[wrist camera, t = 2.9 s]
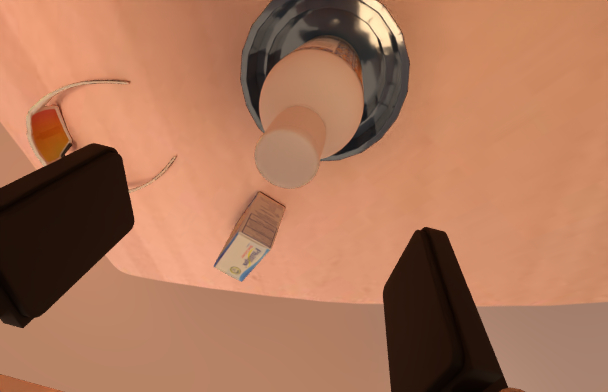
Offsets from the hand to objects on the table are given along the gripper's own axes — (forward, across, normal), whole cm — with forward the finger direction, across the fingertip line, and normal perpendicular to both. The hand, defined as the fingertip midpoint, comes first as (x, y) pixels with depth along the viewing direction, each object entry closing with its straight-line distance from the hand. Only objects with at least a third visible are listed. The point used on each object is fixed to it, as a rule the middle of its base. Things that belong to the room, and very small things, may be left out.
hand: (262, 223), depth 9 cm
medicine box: (+25, +5, +21) cm, 33 cm away
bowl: (+24, 0, 0) cm, 24 cm away
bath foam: (+24, 0, 0) cm, 24 cm away
